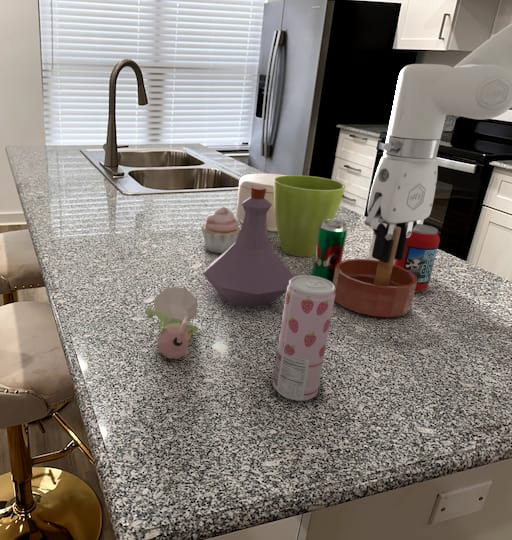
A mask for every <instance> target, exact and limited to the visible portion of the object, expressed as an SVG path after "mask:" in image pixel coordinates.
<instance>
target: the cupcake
mask: <svg viewBox="0 0 512 540" xmlns="http://www.w3.org/2000/svg"><path fill="white" fill-rule="evenodd" d="M205 221H206V222H205V223H204V225H200V230H201V234H202V236H203V241H204V247H205V249H206V251H209V252H211V253H216V254H223V253H224V252H226V251H227V250H228V249H229V248H230V247H231V246H232V245H233V244H234V243H235V242H236V240H237V237H238V235H239V232H240V230H241V227H239V222H238V220H237V219H236V217H235V214H234V213H233V211H231V210H230V209H229V208H228V207H225V206H222V207H219V208H218V209H216V211H215V212H214V213H211V214H208V216H207V217H206V220H205Z"/></svg>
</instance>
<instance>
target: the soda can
mask: <svg viewBox="0 0 512 540" xmlns="http://www.w3.org/2000/svg"><path fill="white" fill-rule="evenodd" d="M347 234H348V228H347V223H346V222H345V221H341V220H339V219H338V220H337V219H333V220H323V221H322V224H321V225H320V226H319V232H318V238H317V244H316V250H315V254H314V255H313V263H312V269H311V276H317V277H321V278H324V279H327V280H329V281H330V282H332V283H333V278H334V273H335V267H336V265H337V263H338V262H341V261H343V256H344V250H345V246H346V245H345V244H346V239H347Z"/></svg>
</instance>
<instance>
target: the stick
mask: <svg viewBox="0 0 512 540" xmlns="http://www.w3.org/2000/svg"><path fill="white" fill-rule="evenodd" d="M386 227H387V226H386ZM400 233H401V228H400V227H398V226H395V227H394V231H393V235H392V238H391V239H392V240H394V243H393V247H392V252H391V256H390V261H389V262H387V263H384V262H382V261H380V260H379V261H378V265H377V270H376V275H375V280H374V284H375V285H380V286H389V282H390V277H391V273H392V269H393V264H394V260H395V255H396V251H397V246H398V242H399V237H400Z"/></svg>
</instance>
